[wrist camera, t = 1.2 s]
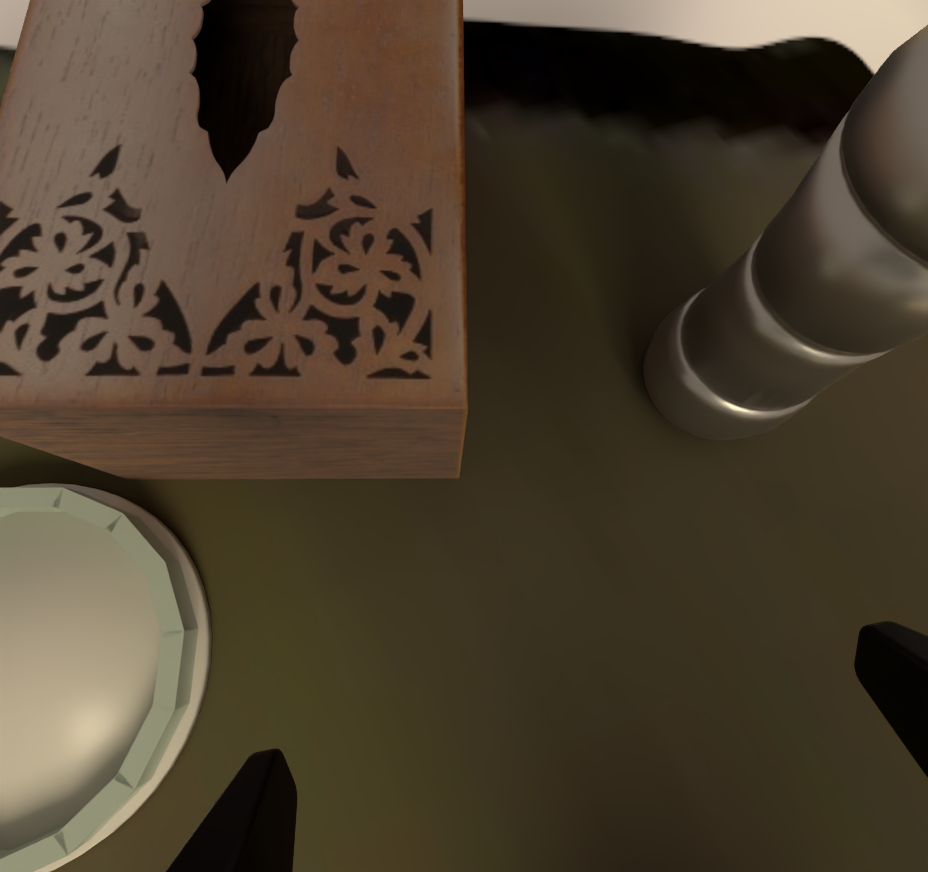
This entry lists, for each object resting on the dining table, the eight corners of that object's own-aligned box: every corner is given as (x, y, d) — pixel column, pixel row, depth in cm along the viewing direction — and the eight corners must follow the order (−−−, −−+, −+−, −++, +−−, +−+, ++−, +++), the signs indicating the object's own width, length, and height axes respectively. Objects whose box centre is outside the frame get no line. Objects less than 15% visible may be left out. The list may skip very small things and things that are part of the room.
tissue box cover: (202, 35, 31) (91, -218, 21) (455, 41, 31) (460, -203, 21) (131, 480, 24) (-84, 408, 14) (459, 479, 24) (468, 408, 15)
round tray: (258, 771, 21) (240, 788, 19) (-147, 959, 19) (-208, 998, 17) (160, 436, 24) (138, 424, 22) (-190, 566, 22) (-245, 564, 20)
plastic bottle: (623, 323, 26) (1119, -405, 7) (759, 325, 26) (1604, -375, 7) (635, 452, 24) (1341, -43, 5) (780, 452, 25) (1973, -21, 5)
